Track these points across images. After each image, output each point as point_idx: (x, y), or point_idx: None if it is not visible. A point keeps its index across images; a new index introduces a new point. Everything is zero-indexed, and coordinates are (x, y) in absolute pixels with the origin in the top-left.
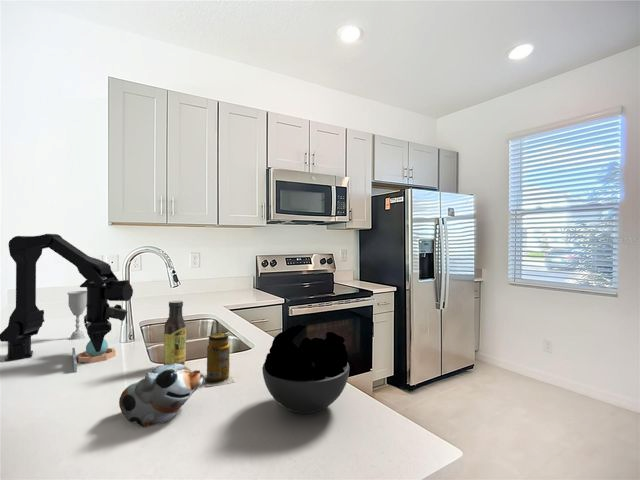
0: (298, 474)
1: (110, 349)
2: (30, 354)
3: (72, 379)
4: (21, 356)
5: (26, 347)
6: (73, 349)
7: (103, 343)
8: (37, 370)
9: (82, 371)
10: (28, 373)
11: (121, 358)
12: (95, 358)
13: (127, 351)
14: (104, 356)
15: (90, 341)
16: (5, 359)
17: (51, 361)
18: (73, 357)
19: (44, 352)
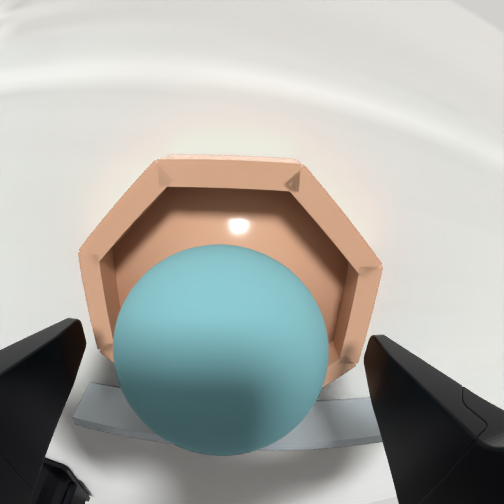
0: None
1: (161, 191)
2: (51, 466)
3: (494, 388)
4: (79, 488)
5: (50, 497)
6: (115, 431)
7: (311, 338)
8: (266, 483)
9: (450, 369)
10: (282, 494)
11: (411, 138)
12: (362, 331)
13: (223, 41)
14: (376, 273)
15: (237, 454)
16: (87, 500)
17: (157, 454)
18: (310, 445)
19: None
